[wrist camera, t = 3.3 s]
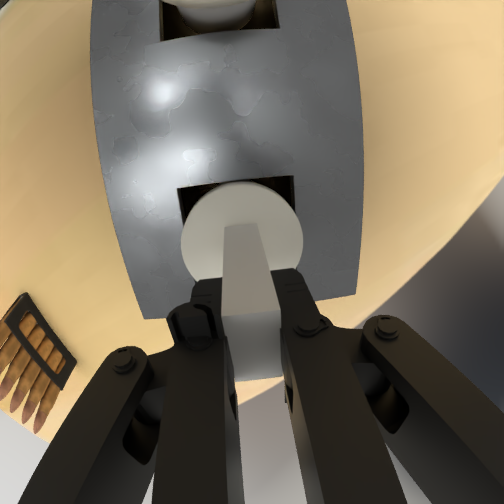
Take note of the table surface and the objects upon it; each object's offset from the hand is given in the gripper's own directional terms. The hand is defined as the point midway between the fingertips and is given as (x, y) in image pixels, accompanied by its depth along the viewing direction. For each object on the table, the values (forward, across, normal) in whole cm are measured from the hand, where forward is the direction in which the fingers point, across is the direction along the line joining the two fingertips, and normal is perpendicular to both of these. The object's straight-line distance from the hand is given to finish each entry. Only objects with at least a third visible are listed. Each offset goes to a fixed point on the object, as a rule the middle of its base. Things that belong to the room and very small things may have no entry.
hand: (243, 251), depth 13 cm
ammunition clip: (+8, -24, -11) cm, 28 cm away
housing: (+8, 0, +7) cm, 11 cm away
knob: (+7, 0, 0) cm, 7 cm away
